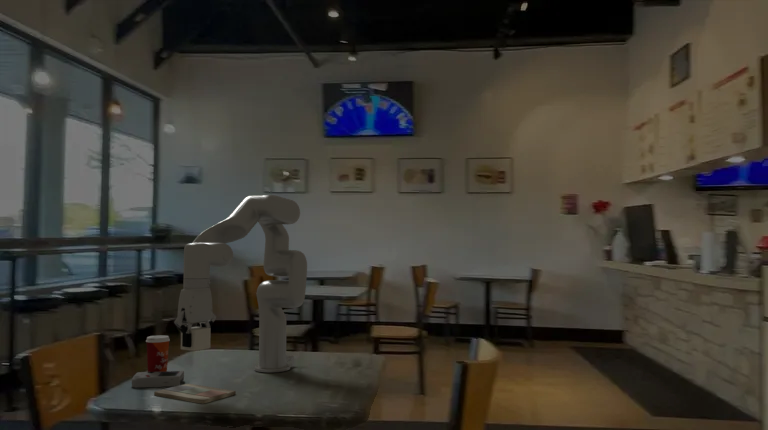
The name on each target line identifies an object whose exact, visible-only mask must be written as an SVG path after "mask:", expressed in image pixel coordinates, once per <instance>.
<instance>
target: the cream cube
mask: <svg viewBox="0 0 768 430" xmlns="http://www.w3.org/2000/svg"><path fill="white" fill-rule="evenodd" d="M211 332H212V331H211V327H210V328H206V327H201V326H192V328H191V331H190V333H192V340H191V347H183V346H182V335H183V333H181V332H180V350H182V351H192V352H193V351H194V352H196V351H197V352H198V351H202V350H208V349H211V337H212V335H211Z"/></svg>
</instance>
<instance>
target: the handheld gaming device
mask: <svg viewBox="0 0 768 430" xmlns="http://www.w3.org/2000/svg"><path fill="white" fill-rule="evenodd" d="M184 379H185V371H184V370H172V371H171V370H167V371H164V372H148V371H141V372H140V371H138V372H136V373H135V374H134V375H133V377H132V378H131V388H135V389H136V388H137V389H139V388H162V387H167V388H170V387H175V386H179V385H181V382H183V381H184Z"/></svg>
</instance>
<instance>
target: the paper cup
mask: <svg viewBox="0 0 768 430" xmlns="http://www.w3.org/2000/svg"><path fill="white" fill-rule="evenodd" d="M170 339H171V338H170V336H169V335H160V334H159V335H150V336H147V337H146V340H145V342H146V357H147V358H146V360H147V361H146V362H147V372H164V371H168V363H169V362H168V361H169V348H170V347H169V346H170V341H171V340H170Z"/></svg>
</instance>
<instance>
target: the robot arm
mask: <svg viewBox="0 0 768 430" xmlns="http://www.w3.org/2000/svg"><path fill="white" fill-rule="evenodd" d="M300 209H301V208H300V205H298V203H297V202H296V201H294V200H293V199H289V198H286V197H282V196H280V195H279V196H278V195H274V194H254V195H252V194H251V195H248V196H246V197H245V198H243V199H242V200H241V201H240V203H239V204H238V205H237V206H236V208H234V210H232V212H231V213H230V214H229V215H228V216H227V218H225V219H223V220H221V221H219V222H217V223H215V224H214V225H211V226H210V227H208V228H207V229H205V230H203V231H202V232H201V233H200V234H198V235H197V236H196V237H195V239H194V240H193V241H192V242H190V243H186V244H185V245H184V247H183V248H184V250H183V280H182V281H183V286H182V287H183V288H182V289H180V293H179V298H178V305H177V306H178V307H177V317H176V319H175V320H174V322H173V323H174V325H175V326H176V327H177V329H179V332H180V334H181V333H183V335H182V346H183V347H191V340H192V333H190V331H191V328H192V327H193V325H194V324H199V327H206V328H211V327H212V326H213V324H214V322H215V321H216V319H217V315H216V314H215V313H214V312H213V296H212V291H211V290H212V289H211V288H210V285H211V284H212V281H211V279H210V277H211V272H210V271H211V268H222V267H226V266H228V265H229V264H231V262H232V260H233V258H234V251H233V249H232V247H231V246H230V245H229V243H233V242H236V241H240V240H241V239H244V238H246V237H247V236H248V234H249V233H250V232H251V231H252V229H253V228H254V227H255V226H256V225H257V224H258V223H259V225H260V227H261V229H262V231H263V234H264V238H265V243H264V253H263V270H264V273H265V274H266V275H267V276H271V277H280V278H281V277H283V278H288V280H278V279H276V280H275V279H274V280H273V279H268V280H264V281H262V282H261V283H259V285H258V287H257V289H256V299H257V305H258V319H259V320H258V321H259V322H258V323H259V325H258V326H259V328H258V332H259V333H258V334H259V335H258V339H259V340H258V358H259V359H258V364H257V365H254V371H255V372H258V373H266V374H267V373H268V374H269V373H281V372H287V371H289V370H291V365H290V364H289V363H288V362H290V361H293V360H294V358H295V357H294V355H293V354H291V355H288V354H287V317H286V313H284V310H283V308H285V309H286V308H287V309H297V308H299V307H301V306H302V305H303V303H304V302H305V297H306V292H307V290H306V289H307V288H306V287H307V275H308V261H307V257H306V256H305V254H304V253H303V252H302V251H300V250H298V249H297V250H296V249H294V250H293V249H292V250H291V249H290V247H289V246H290V236H289V233H288V231H287V229H286V227H285V226H284V225H294V224H295V223H297V221H299V219H300V216H301V210H300Z"/></svg>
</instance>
